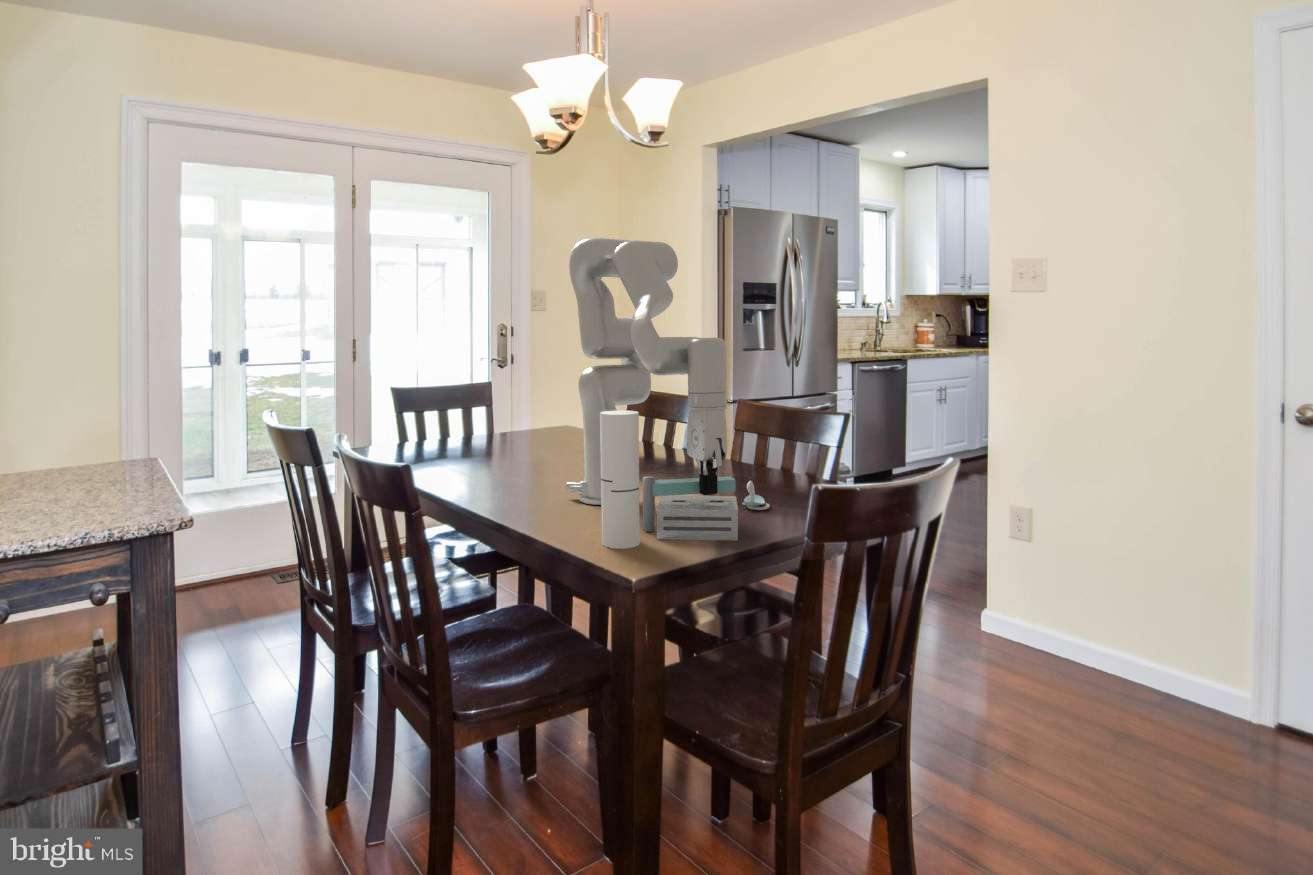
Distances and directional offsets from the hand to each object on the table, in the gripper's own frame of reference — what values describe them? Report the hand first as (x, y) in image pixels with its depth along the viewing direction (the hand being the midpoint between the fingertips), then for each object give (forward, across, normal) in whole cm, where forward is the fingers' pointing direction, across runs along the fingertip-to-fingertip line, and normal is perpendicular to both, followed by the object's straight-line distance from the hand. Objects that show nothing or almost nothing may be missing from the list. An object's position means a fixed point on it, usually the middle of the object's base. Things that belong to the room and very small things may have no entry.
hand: (708, 493), depth 158 cm
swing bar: (+7, -4, -3) cm, 9 cm away
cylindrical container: (+8, +1, -19) cm, 20 cm away
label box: (+8, -1, -2) cm, 8 cm away
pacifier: (+8, -16, +19) cm, 26 cm away
